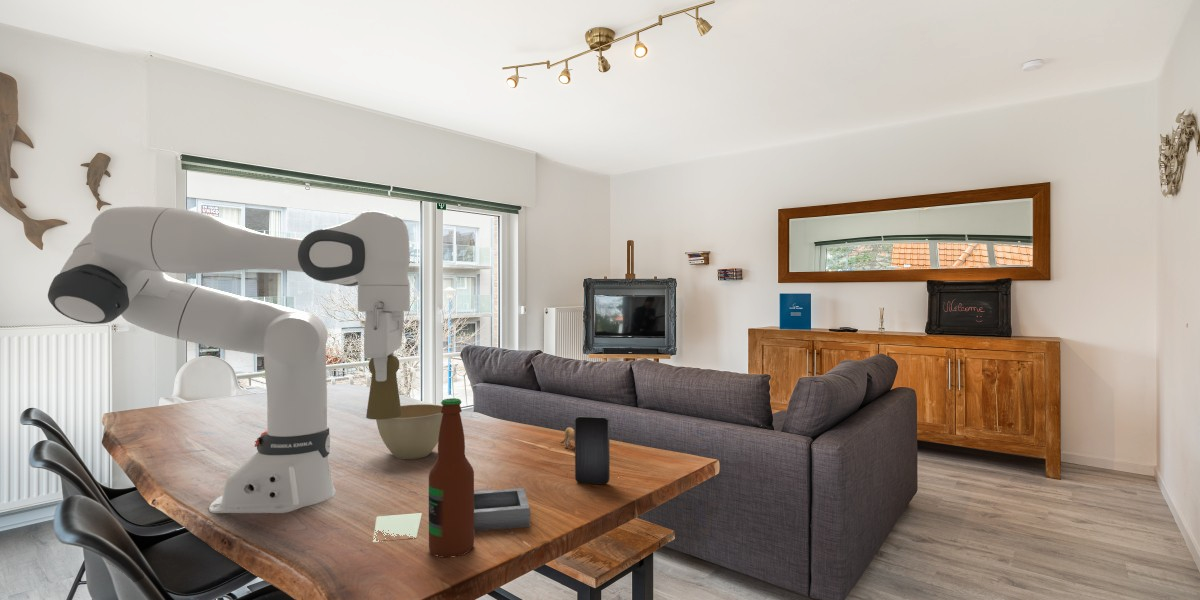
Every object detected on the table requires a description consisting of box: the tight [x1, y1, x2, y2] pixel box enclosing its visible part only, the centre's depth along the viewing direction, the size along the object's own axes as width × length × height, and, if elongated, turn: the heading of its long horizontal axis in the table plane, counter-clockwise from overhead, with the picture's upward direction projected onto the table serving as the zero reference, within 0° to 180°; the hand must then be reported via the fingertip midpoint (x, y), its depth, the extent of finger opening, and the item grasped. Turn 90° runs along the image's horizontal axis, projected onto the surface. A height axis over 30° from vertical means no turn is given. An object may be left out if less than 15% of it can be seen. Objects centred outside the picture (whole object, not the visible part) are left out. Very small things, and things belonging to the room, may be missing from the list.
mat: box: [372, 512, 423, 543], centre depth 102 cm, size 12×12×1 cm
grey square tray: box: [474, 487, 531, 532], centre depth 108 cm, size 11×11×4 cm
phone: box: [574, 415, 611, 486], centre depth 128 cm, size 8×1×15 cm, turn 78°
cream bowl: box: [376, 403, 443, 460], centre depth 151 cm, size 18×18×12 cm
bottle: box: [428, 397, 475, 558], centre depth 94 cm, size 7×7×25 cm
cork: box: [365, 355, 402, 420], centre depth 102 cm, size 6×6×11 cm
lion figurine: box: [560, 427, 575, 449], centre depth 158 cm, size 12×4×7 cm, turn 44°
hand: (384, 378), depth 102 cm, fingers closed on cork, 5 cm apart
